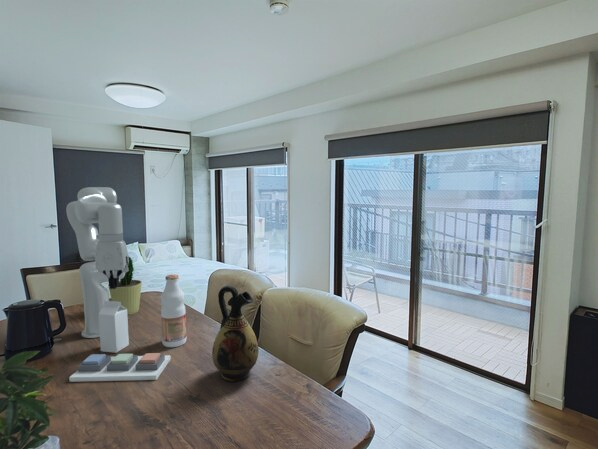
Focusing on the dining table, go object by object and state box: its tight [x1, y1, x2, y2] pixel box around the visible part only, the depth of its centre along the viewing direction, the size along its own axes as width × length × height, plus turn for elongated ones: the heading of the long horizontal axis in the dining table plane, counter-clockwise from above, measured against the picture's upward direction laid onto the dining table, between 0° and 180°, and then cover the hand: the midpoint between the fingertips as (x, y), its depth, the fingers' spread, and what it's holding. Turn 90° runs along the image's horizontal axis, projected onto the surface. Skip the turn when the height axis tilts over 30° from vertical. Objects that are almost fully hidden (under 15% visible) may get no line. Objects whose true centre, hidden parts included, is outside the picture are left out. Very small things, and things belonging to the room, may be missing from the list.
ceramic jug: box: [211, 285, 260, 383], centre depth 116 cm, size 17×15×30 cm
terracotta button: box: [140, 352, 161, 364], centre depth 120 cm, size 5×5×2 cm
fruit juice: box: [160, 274, 188, 348], centre depth 140 cm, size 9×9×28 cm
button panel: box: [68, 354, 172, 383], centre depth 120 cm, size 14×28×4 cm, turn 92°
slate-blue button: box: [82, 353, 107, 365], centre depth 120 cm, size 5×5×2 cm
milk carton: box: [99, 300, 130, 354], centre depth 136 cm, size 7×7×19 cm
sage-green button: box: [112, 353, 134, 364], centre depth 120 cm, size 5×5×2 cm
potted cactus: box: [107, 255, 143, 316], centre depth 178 cm, size 15×15×30 cm
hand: (114, 287), depth 127 cm, fingers closed
